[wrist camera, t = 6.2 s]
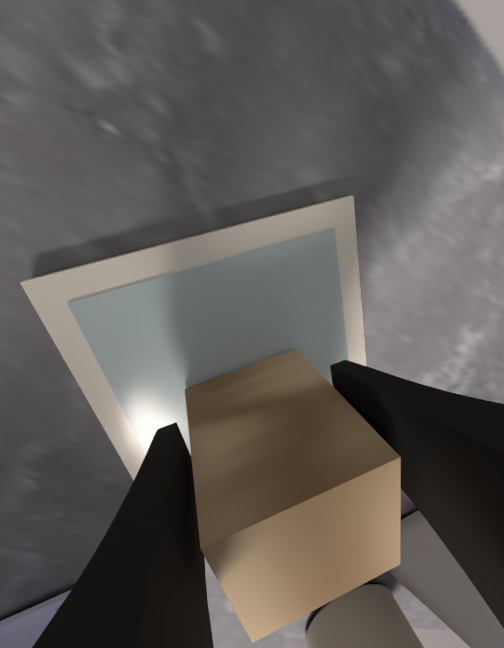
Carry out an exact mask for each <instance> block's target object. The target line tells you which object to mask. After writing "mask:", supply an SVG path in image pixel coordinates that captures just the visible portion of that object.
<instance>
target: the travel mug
mask: <svg viewBox="0 0 504 648" xmlns="http://www.w3.org/2000/svg"><path fill="white" fill-rule="evenodd" d="M306 641H307V644H308V648H423V646H422V644H421V642H420V641H419V639H418V638H417V636H416V634H415V632H414V631H413V629H412V627H411V626H410V624H409V622H408V621H407V619H406V617H405V616H404V614H403V612H402V611H401V609H400V607H399V606H398V604H397V602H396V601H395V599H394V597H393V595H392V594H391V592H390V590H389V589H388V588H387V587H385V586H383V585H377V584H363V585H361V586H359V587H357V588H355V589H353V590H351V591H349V592H347V593H346V594H344V595H342V596H340V597H338V598H336V599H334V600H332V601H331V602H329V603H327V604H325V605H324V606H323V607H322V608H321V609H320V610H319V611H318V612H317V614H316V615H315V617H314V619H313V621H312V622H311V624H310V626H309V628H308V631H307V634H306Z"/></svg>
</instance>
